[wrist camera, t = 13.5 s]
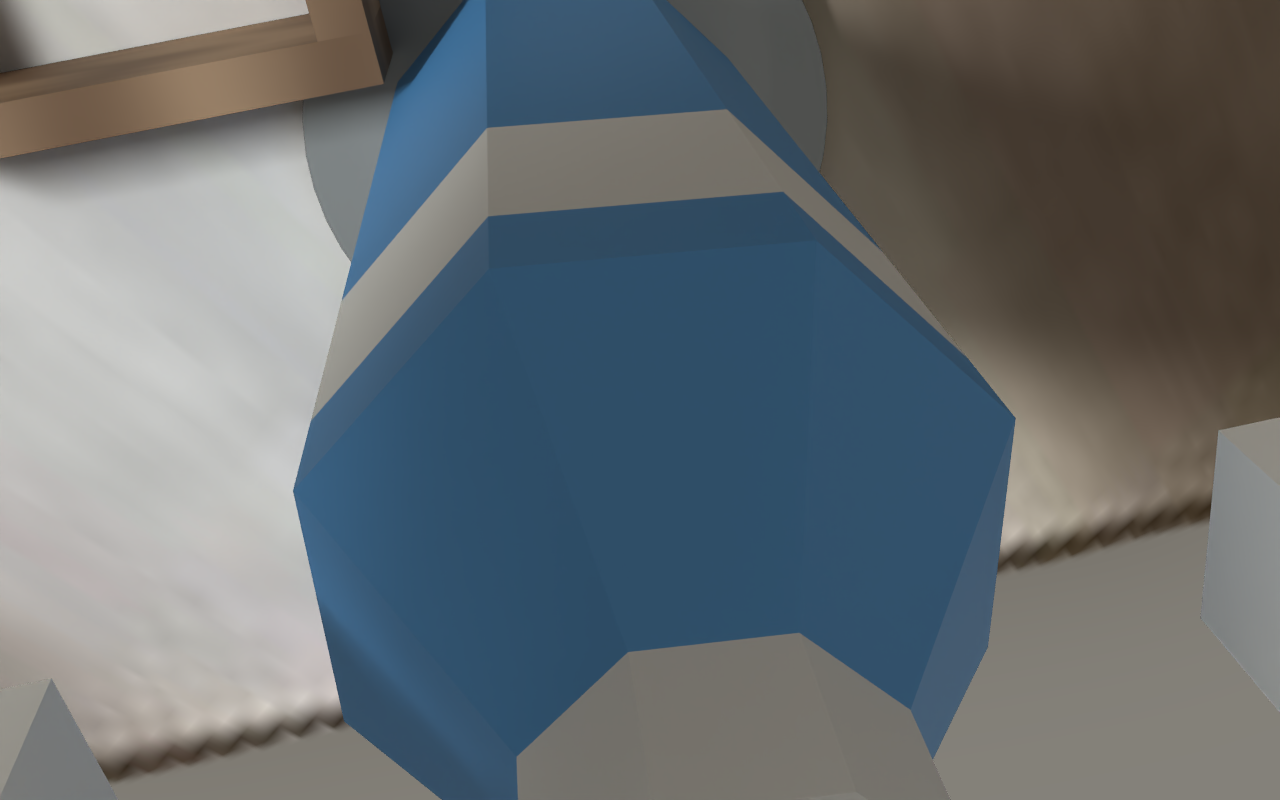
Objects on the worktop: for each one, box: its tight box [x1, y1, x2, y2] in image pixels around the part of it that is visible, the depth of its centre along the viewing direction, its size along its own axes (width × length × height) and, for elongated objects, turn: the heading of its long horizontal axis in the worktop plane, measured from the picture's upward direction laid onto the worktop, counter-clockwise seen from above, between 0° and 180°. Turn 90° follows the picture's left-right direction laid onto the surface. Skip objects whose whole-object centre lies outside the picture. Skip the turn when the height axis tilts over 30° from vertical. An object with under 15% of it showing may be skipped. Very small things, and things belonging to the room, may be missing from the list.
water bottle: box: [293, 0, 1016, 800], centre depth 21 cm, size 9×9×25 cm
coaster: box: [303, 0, 827, 262], centre depth 32 cm, size 14×14×1 cm
